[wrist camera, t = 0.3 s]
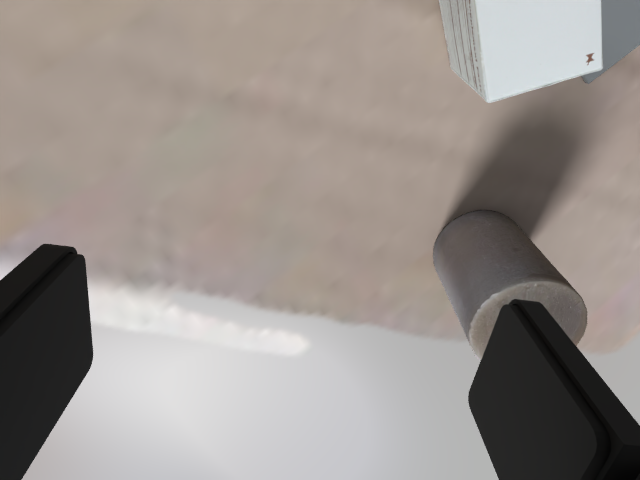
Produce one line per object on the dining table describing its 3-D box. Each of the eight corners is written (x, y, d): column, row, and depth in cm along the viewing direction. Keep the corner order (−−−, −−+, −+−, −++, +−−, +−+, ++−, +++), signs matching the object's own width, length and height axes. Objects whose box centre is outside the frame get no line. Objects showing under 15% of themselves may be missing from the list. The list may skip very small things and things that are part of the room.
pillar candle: (540, 235, 49) (625, 320, 36) (482, 301, 53) (540, 401, 40) (467, 193, 47) (529, 267, 34) (412, 266, 51) (448, 359, 37)
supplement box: (525, -52, 36) (607, -61, 26) (533, 45, 40) (607, 73, 29) (432, -20, 38) (471, -17, 27) (447, 71, 41) (487, 107, 30)
